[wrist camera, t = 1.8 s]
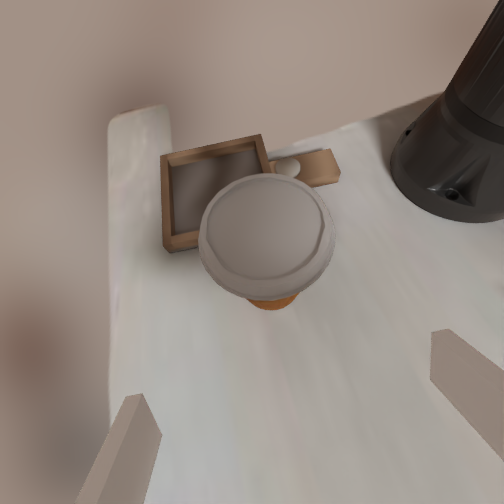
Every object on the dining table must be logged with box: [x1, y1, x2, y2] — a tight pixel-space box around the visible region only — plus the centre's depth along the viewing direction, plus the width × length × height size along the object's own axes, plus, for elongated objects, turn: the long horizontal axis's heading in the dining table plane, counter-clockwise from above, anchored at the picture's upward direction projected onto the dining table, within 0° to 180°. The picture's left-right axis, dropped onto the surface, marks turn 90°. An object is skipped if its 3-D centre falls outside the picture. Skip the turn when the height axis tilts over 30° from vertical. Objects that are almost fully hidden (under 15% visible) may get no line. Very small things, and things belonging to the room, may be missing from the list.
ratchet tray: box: [160, 134, 341, 253], centre depth 32 cm, size 22×14×2 cm, turn 100°
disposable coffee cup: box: [198, 173, 335, 310], centre depth 22 cm, size 10×10×12 cm
